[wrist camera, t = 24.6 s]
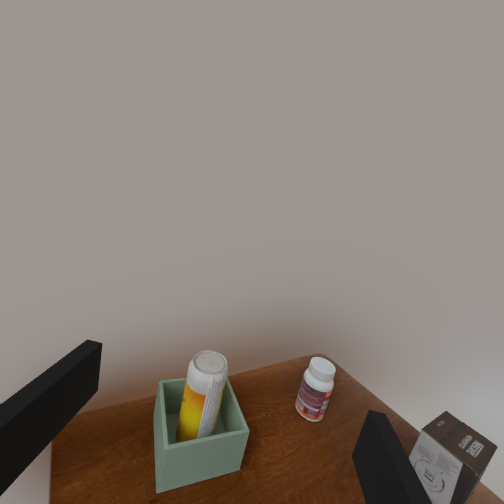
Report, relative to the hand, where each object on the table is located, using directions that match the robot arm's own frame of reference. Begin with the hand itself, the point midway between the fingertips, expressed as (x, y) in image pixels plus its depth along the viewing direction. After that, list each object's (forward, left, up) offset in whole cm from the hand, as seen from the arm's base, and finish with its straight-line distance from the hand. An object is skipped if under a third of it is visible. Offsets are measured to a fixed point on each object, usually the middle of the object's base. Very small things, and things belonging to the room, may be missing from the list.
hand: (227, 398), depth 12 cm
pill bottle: (+32, +24, -32) cm, 51 cm away
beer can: (+7, +22, -31) cm, 39 cm away
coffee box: (+37, +3, -32) cm, 49 cm away
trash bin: (+7, +22, -32) cm, 40 cm away
